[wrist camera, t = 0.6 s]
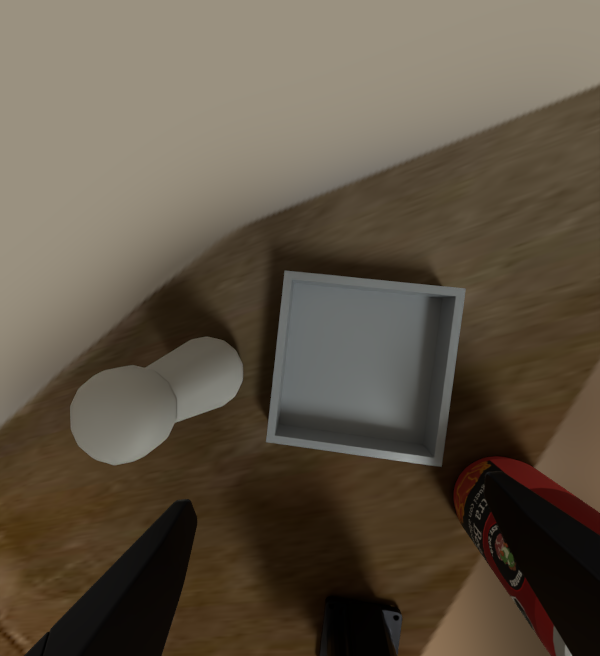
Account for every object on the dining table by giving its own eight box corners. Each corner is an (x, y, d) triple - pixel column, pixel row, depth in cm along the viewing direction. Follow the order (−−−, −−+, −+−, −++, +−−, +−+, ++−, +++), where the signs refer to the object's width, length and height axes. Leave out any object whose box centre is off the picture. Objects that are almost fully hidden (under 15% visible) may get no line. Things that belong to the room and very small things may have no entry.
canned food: (462, 441, 23) (592, 552, 12) (560, 467, 23) (784, 606, 12) (438, 526, 24) (542, 708, 13) (533, 554, 23) (728, 767, 12)
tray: (425, 447, 23) (441, 466, 20) (272, 426, 24) (266, 441, 21) (446, 292, 23) (465, 288, 20) (288, 276, 24) (284, 270, 21)
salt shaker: (173, 371, 25) (12, 429, 12) (212, 321, 24) (90, 324, 11) (223, 413, 25) (116, 519, 12) (263, 363, 24) (198, 416, 11)
